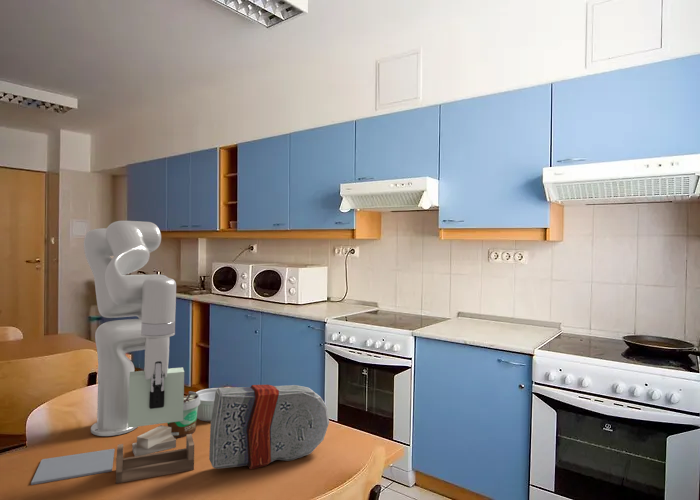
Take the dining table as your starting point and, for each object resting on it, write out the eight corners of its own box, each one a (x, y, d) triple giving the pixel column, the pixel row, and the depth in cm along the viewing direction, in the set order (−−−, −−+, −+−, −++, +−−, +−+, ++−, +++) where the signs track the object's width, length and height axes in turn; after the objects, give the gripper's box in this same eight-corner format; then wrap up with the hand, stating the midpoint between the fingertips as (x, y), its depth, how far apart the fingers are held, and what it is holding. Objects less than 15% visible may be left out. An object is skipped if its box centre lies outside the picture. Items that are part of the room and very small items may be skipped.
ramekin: (197, 408, 150) (197, 387, 150) (237, 407, 152) (238, 387, 151) (187, 423, 137) (187, 401, 137) (231, 423, 138) (232, 400, 138)
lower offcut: (132, 452, 118) (132, 443, 118) (171, 443, 124) (172, 434, 124) (135, 458, 115) (135, 449, 115) (175, 449, 121) (176, 439, 121)
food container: (185, 442, 124) (185, 406, 124) (164, 440, 125) (165, 404, 125) (207, 425, 136) (208, 392, 136) (189, 423, 137) (190, 390, 137)
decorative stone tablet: (219, 392, 105) (334, 388, 119) (214, 384, 111) (324, 381, 124) (210, 476, 104) (327, 462, 118) (205, 464, 110) (317, 451, 124)
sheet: (128, 421, 108) (129, 371, 108) (181, 414, 113) (182, 367, 113) (128, 427, 105) (129, 376, 104) (183, 420, 110) (184, 371, 109)
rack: (117, 469, 108) (117, 444, 108) (190, 457, 115) (191, 433, 115) (115, 483, 102) (116, 457, 102) (193, 469, 109) (194, 444, 109)
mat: (41, 461, 111) (41, 459, 111) (114, 450, 118) (114, 448, 118) (31, 484, 100) (31, 482, 100) (112, 471, 107) (112, 469, 107)
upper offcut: (136, 446, 116) (137, 436, 116) (160, 434, 124) (160, 425, 124) (147, 448, 115) (147, 439, 115) (171, 436, 123) (171, 427, 123)
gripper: (141, 323, 114) (139, 394, 115) (141, 337, 99) (139, 419, 100) (172, 322, 118) (170, 391, 118) (177, 335, 102) (175, 414, 103)
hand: (156, 403), depth 109 cm, fingers closed on sheet, 4 cm apart
